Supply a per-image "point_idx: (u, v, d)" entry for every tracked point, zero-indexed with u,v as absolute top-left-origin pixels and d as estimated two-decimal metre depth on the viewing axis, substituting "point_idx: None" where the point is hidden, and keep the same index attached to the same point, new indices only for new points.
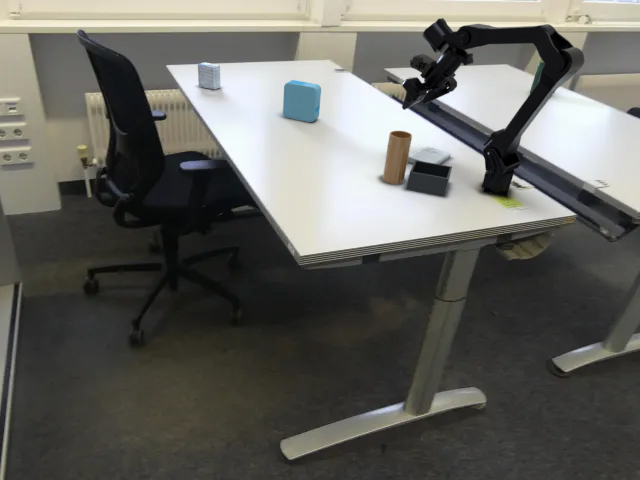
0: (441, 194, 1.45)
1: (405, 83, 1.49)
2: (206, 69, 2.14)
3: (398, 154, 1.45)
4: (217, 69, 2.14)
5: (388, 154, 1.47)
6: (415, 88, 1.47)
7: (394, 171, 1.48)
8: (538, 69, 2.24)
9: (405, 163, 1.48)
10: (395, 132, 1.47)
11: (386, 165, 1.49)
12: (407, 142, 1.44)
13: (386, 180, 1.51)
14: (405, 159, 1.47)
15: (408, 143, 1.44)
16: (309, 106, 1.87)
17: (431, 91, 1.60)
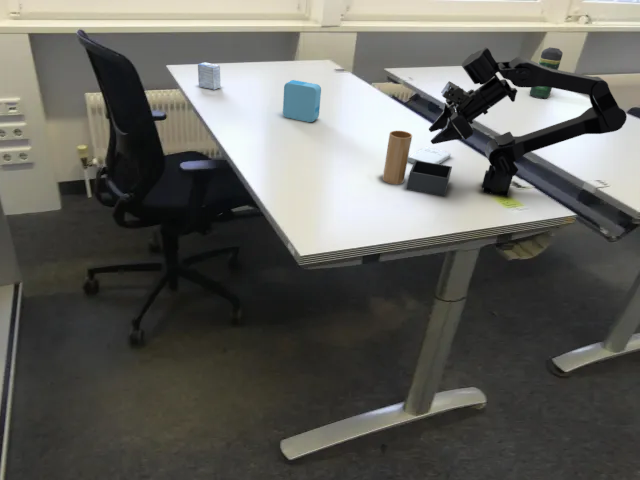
0: (441, 194, 1.45)
1: (458, 121, 1.32)
2: (206, 69, 2.14)
3: (398, 154, 1.45)
4: (217, 69, 2.14)
5: (388, 154, 1.47)
6: (469, 127, 1.32)
7: (394, 171, 1.48)
8: None
9: (405, 163, 1.48)
10: (395, 132, 1.47)
11: (386, 165, 1.49)
12: (407, 142, 1.44)
13: (386, 180, 1.51)
14: (405, 159, 1.47)
15: (408, 143, 1.44)
16: (309, 106, 1.87)
17: (442, 118, 1.46)
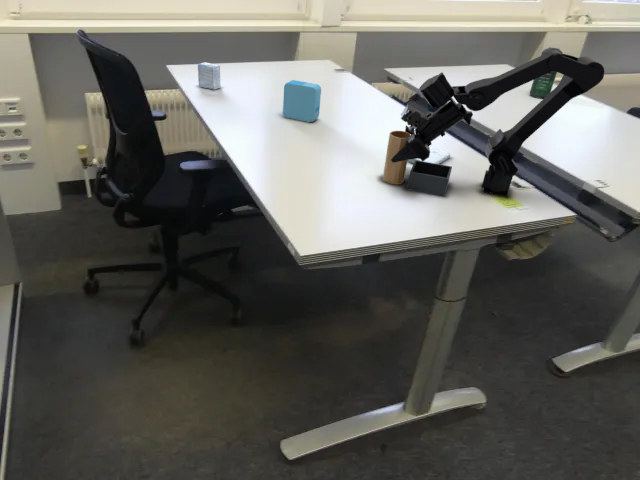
0: (441, 194, 1.45)
1: (414, 143, 1.37)
2: (206, 69, 2.14)
3: None
4: (217, 69, 2.14)
5: (388, 154, 1.47)
6: (426, 149, 1.37)
7: (394, 171, 1.48)
8: None
9: (405, 163, 1.48)
10: (395, 132, 1.47)
11: (386, 165, 1.49)
12: None
13: (386, 180, 1.51)
14: None
15: None
16: (309, 106, 1.87)
17: None
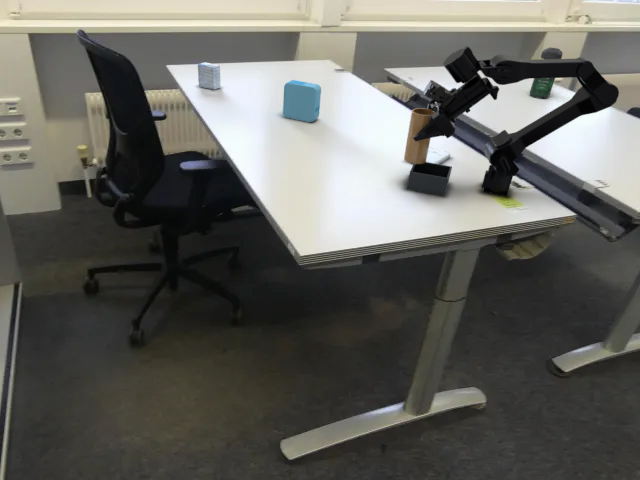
0: (441, 194, 1.45)
1: (439, 119, 1.32)
2: (206, 69, 2.14)
3: None
4: (217, 69, 2.14)
5: (410, 132, 1.42)
6: (451, 125, 1.32)
7: (416, 150, 1.43)
8: None
9: (428, 142, 1.43)
10: (417, 110, 1.42)
11: (408, 144, 1.44)
12: None
13: (408, 160, 1.46)
14: None
15: None
16: (309, 106, 1.87)
17: None
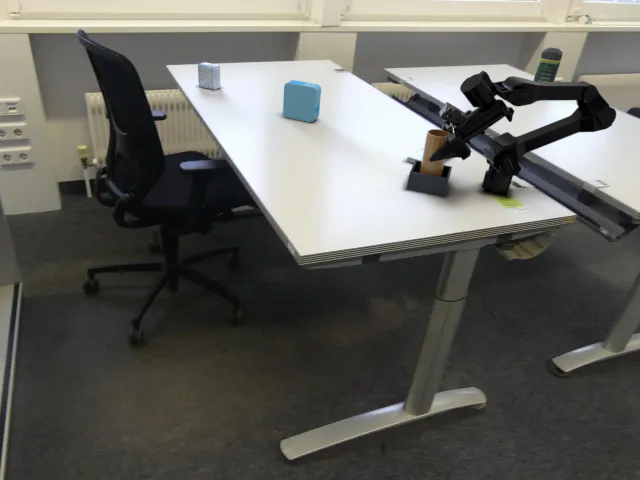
0: (441, 194, 1.45)
1: (456, 142, 1.33)
2: (206, 69, 2.14)
3: None
4: (217, 69, 2.14)
5: (425, 153, 1.44)
6: (467, 148, 1.34)
7: (431, 171, 1.44)
8: (538, 69, 2.24)
9: (443, 162, 1.44)
10: (432, 131, 1.44)
11: (423, 164, 1.45)
12: None
13: None
14: None
15: None
16: (309, 106, 1.87)
17: None
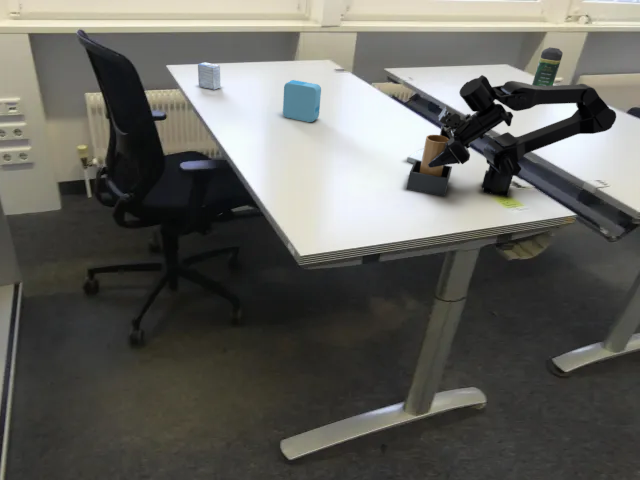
0: (441, 194, 1.45)
1: (455, 146, 1.33)
2: (206, 69, 2.14)
3: None
4: (217, 69, 2.14)
5: (424, 158, 1.44)
6: (466, 152, 1.34)
7: None
8: (538, 69, 2.24)
9: (441, 168, 1.45)
10: (431, 136, 1.45)
11: (422, 170, 1.46)
12: None
13: None
14: None
15: None
16: (309, 106, 1.87)
17: None
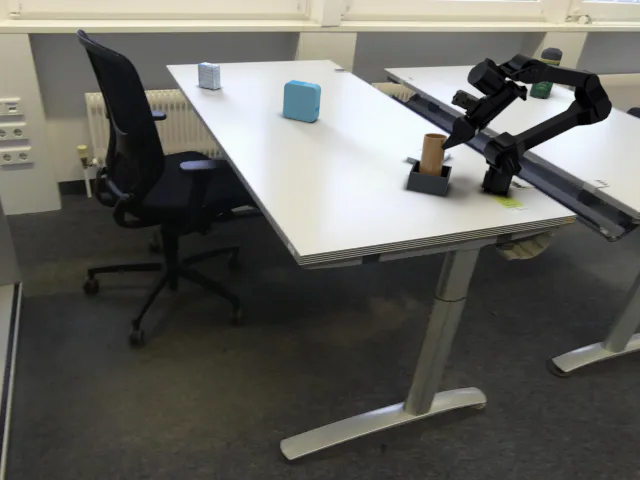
0: (441, 194, 1.45)
1: (457, 122, 1.33)
2: (206, 69, 2.14)
3: (434, 155, 1.43)
4: (217, 69, 2.14)
5: (423, 156, 1.45)
6: (470, 127, 1.32)
7: (430, 173, 1.45)
8: None
9: (441, 165, 1.45)
10: (429, 134, 1.46)
11: (421, 168, 1.46)
12: (443, 143, 1.42)
13: None
14: (441, 161, 1.44)
15: None
16: (309, 106, 1.87)
17: None
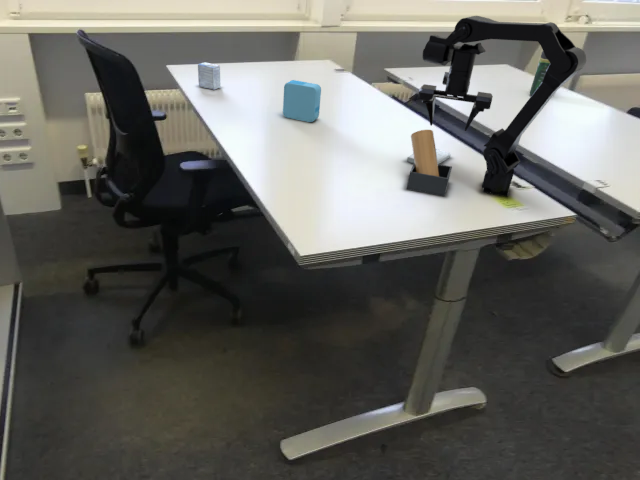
0: (441, 194, 1.45)
1: None
2: (206, 69, 2.14)
3: (423, 146, 1.46)
4: (217, 69, 2.14)
5: (414, 152, 1.47)
6: (421, 87, 1.48)
7: (425, 164, 1.45)
8: (538, 69, 2.24)
9: (434, 156, 1.46)
10: None
11: (416, 164, 1.47)
12: (429, 133, 1.46)
13: None
14: (433, 151, 1.46)
15: (430, 135, 1.46)
16: (309, 106, 1.87)
17: (470, 114, 1.48)
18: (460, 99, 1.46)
